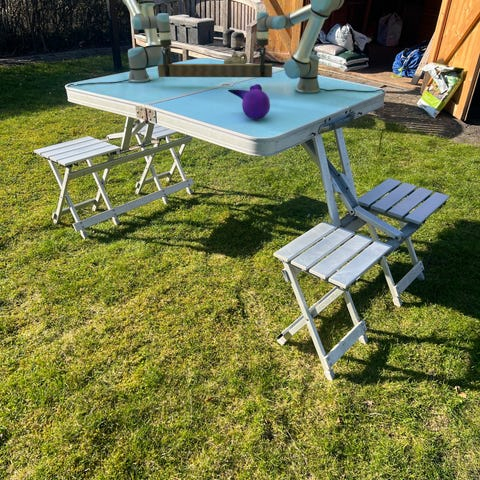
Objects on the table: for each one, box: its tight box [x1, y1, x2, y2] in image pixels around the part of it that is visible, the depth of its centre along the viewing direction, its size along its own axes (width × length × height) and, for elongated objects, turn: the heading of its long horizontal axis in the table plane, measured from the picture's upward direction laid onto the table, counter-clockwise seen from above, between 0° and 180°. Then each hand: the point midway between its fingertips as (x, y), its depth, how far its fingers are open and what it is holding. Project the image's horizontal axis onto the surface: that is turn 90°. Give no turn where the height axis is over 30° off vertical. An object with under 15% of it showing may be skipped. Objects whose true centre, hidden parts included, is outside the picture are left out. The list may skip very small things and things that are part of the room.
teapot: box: [223, 50, 248, 64], centre depth 366 cm, size 21×12×15 cm, turn 120°
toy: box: [227, 83, 271, 121], centre depth 243 cm, size 16×18×27 cm
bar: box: [156, 63, 273, 79], centre depth 306 cm, size 78×6×8 cm, turn 83°
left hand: (168, 75), depth 311 cm, fingers closed on bar, 6 cm apart
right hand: (262, 75), depth 304 cm, fingers closed on bar, 6 cm apart
